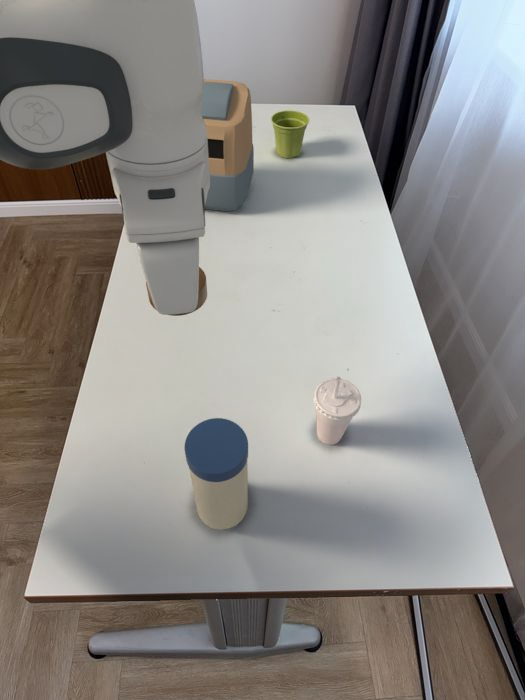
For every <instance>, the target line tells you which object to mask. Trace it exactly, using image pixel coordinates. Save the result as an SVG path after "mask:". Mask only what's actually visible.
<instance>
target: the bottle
mask: <svg viewBox="0 0 525 700" xmlns="http://www.w3.org/2000/svg"><path fill="white" fill-rule="evenodd" d="M183 448H184V449H183V450H184V455H185V461H186V464H187V466H188V471H189V475H190V481H191V486H192V491H193V497H194V501H195V506H196V511H197V515H198V517H199V518H200V520H201V522H203V523H204V525H206V526H207V527H209V528H211V529H214V530H217V531H218V530H219V531H220V530H229V529H231V528H234V527H236V526H237V525H238V524H240V523H241V522H242V520H243V519H244V518H245V516H246V514H247V512H248V507H249V505H248V504H249V501H248V500H249V493H248V492H249V491H248V488H249V487H248V486H249V485H248V477H249V476H248V459H249V440H248V437H247V434H246V432H245V431H244V429H243V428H242V427H241V426H240V425H239V424H238V423H237V422H234V421H232V420H230V419H227V418H222V417H214V418H213V417H212V418H208V419H205V420H202V421H200V422H199V423H197V424H196V425H195V426H193V428H191V430H190V431H189V433H188V434H187V435H186V438H185V441H184V447H183Z"/></svg>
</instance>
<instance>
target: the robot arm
mask: <svg viewBox="0 0 525 700" xmlns="http://www.w3.org/2000/svg"><path fill="white" fill-rule="evenodd" d="M203 64H204V63H203V52H202V43H201V35H200V28H199V21H198V13H197V8H196V2H195V0H0V161H2V162H4V163H6V164H9V165H12V166H14V167H18V168H20V169H25V170H35V171H36V170H37V171H45V170H54V169H58V168H62V167H65V166H69V165H72V164H75V163H79V162H82V161H85V160H88V159H91V158H94V157H98V156H100V155H103V154H105V156H106V160H107V165H108V170H109V173H110V178H111V183H112V187H113V191H114V195H115V196H116V199H117V201H118V203H119V205H120V207H121V213H122V222H123V226H124V231H125V235H126V239H127V241H128V242H129V243H131V244H135V245H136V249H137V253H138V258H139V261H140V265H141V268H142V272H143V275H144V279H145V283H146V282H147V285H148V289H149V292H150V295H151V298H152V301H153V304H154V306H155V308H156V309H155V310H156V312H157V313H159V314H160V315H164V316H171V314H182V313H188V312H192V311H194V310H195V309H196V307H197V303H198V286H199V267H200V238H203V237H204V236H205V234H206V216H205V214H206V212H205V211H206V209H205V203H206V199H207V194H208V191H209V188H210V171H209V156H208V138H207V130H206V126H205V123H204V120H203V117H202V114H201V98H202V94H203V88H204V79H205V77H204V65H203ZM194 312H195V311H194ZM192 313H193V312H192Z"/></svg>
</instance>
